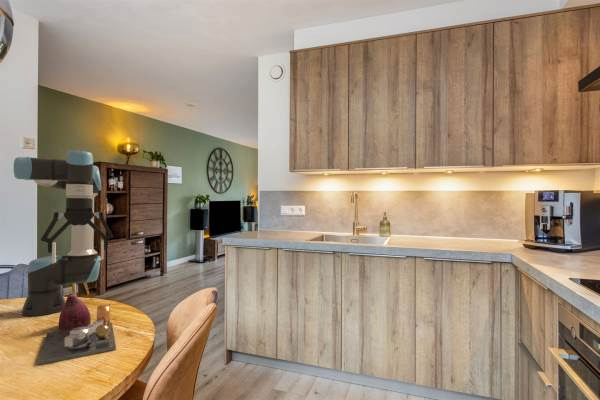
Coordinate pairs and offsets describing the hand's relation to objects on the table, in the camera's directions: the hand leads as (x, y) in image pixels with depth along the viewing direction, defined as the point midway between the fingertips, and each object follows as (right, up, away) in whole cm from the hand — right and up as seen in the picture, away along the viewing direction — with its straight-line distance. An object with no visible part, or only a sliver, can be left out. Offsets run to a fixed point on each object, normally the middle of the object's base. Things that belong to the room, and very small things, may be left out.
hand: (78, 261), depth 113 cm
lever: (+3, -25, +1) cm, 25 cm away
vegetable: (-13, -28, +17) cm, 35 cm away
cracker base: (-1, -28, +2) cm, 28 cm away
